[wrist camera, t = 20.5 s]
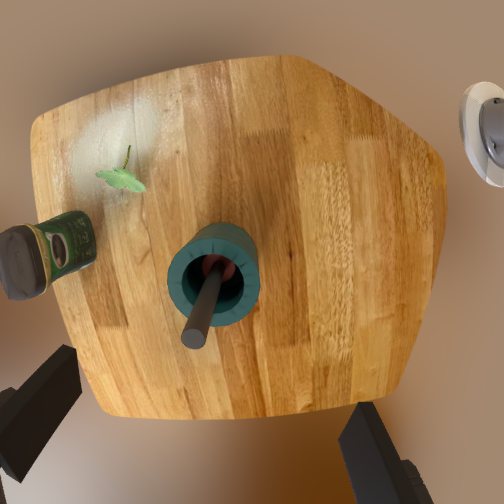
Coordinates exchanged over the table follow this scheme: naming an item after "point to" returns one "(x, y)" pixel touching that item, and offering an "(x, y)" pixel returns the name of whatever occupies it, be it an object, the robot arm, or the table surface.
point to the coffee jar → (44, 253)
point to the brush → (207, 299)
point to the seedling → (122, 178)
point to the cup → (231, 292)
